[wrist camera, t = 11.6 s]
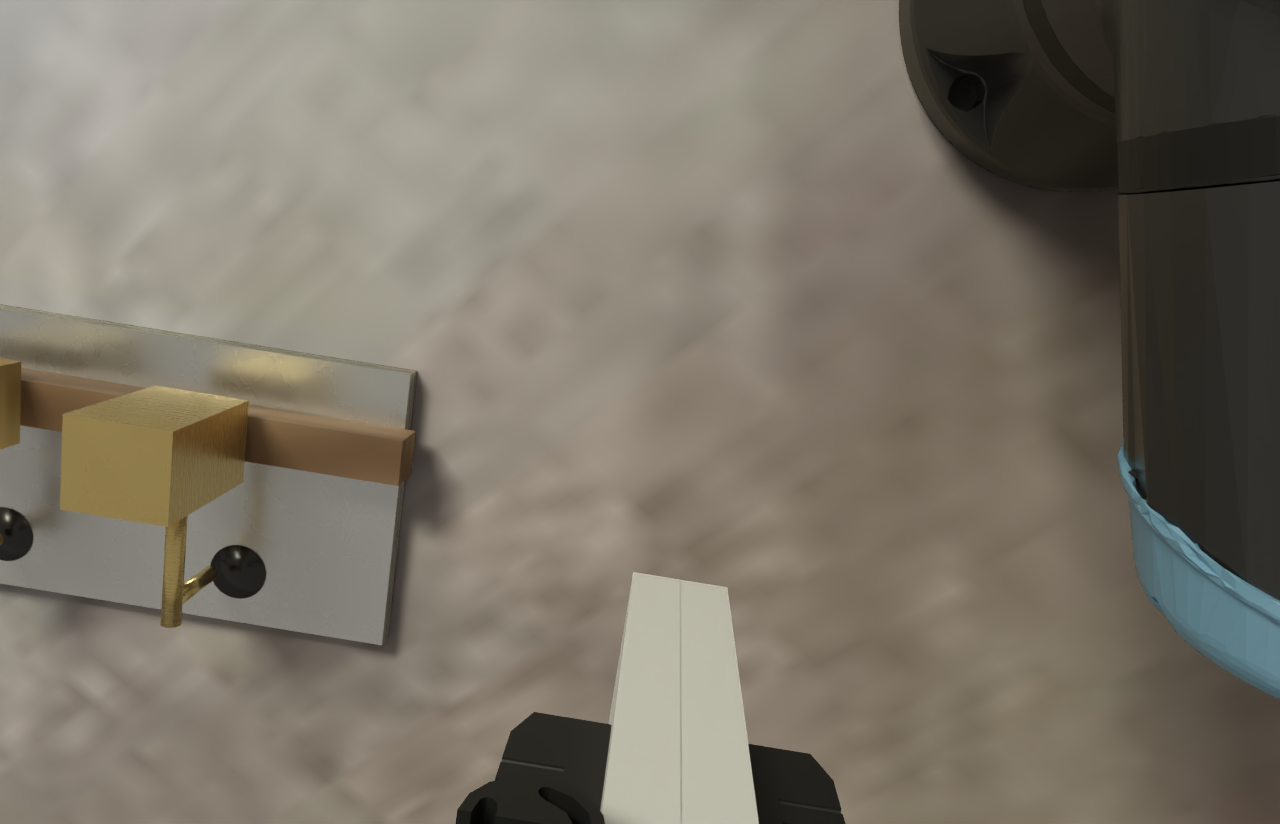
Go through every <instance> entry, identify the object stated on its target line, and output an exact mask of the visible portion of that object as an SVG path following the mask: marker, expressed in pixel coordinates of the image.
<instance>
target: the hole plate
mask: <svg viewBox="0 0 1280 824" xmlns="http://www.w3.org/2000/svg"><path fill="white" fill-rule="evenodd" d="M0 358H2V359H8V360H14V361H21V368H26V369H32V370H38V371H45V372H51V373H57V374H63V375H70V376H76V377H82V378H88V379H95V380H101V381H107V382H113V383H120V384H126V385H132V386H138V387H145V388H149V387H152V386H162V387H168V388H174V389H180V390H187V391H193V392H199V393H205V394H212V395H218V396H224V397H230V398H236V399H243V400H249V404H251V405H257V406H263V407H269V408H276V409H282V410H288V411H294V412H301V413H307V414H313V415H319V416H325V417H332V418H338V419H344V420H350V421H357V422H363V423H369V424H375V425H382V426H388V427H394V428H400V429H407V430H411V420H412V411H413V401H414V392H415V383H416V373H417V371H414V370H408V369H402V368H395V367H389V366H383V365H377V364H370V363H364V362H358V361H351V360H345V359H339V358H333V357H326V356H320V355H314V354H308V353H301V352H295V351H289V350H283V349H276V348H270V347H264V346H258V345H251V344H245V343H239V342H233V341H226V340H220V339H214V338H207V337H201V336H195V335H189V334H182V333H176V332H170V331H164V330H157V329H151V328H145V327H139V326H132V325H126V324H120V323H114V322H107V321H101V320H95V319H88V318H82V317H76V316H70V315H63V314H57V313H51V312H45V311H38V310H32V309H26V308H20V307H13V306H7V305H1V304H0ZM61 457H62V432H59V431H53V430H46V429H40V428H34V427H28V426H21V425H20V443H19V444H16V445H13V446H10V447H7V448H4V449H1V450H0V533H1V534H2V536H3V539H4V540H3V543H2V544H1V545H0V583H1V584H7V585H13V586H19V587H25V588H31V589H38V590H44V591H50V592H56V593H62V594H68V595H74V596H81V597H87V598H93V599H99V600H105V601H111V602H118V603H124V604H130V605H136V606H142V607H148V608H154V609H161V604H162V585H163V567H164V548H165V529H166V527H164V526H158V525H152V524H146V523H140V522H133V521H127V520H121V519H115V518H109V517H102V516H96V515H90V514H84V513H78V512H72V511H65V510H60V491H61ZM404 486H405V480H404V481H403V482H402V483H401V484H400V485H399V486H395V485H388V484H382V483H376V482H370V481H363V480H357V479H351V478H345V477H339V476H332V475H326V474H320V473H314V472H307V471H301V470H295V469H289V468H283V467H276V466H270V465H264V464H258V463H252V462H245V465H244V479H243V483H241V484H240V485H238V486H236V487H235V488H233V489H231V490H230V491H228V492H226V493H224V494H223V495H221V496H219V497H218V498H216V499H214V500H213V501H211V502H209V503H208V504H206V505H204V506H203V507H201V508H199V509H198V510H196V511H194V512H192V513H191V514H189V515H188V520H187V537H186V554H185V571H184V582H186V581H187V580H189V579H190V578H191V577H193V576H194V575H195V574H197V573H198V572H200V571H201V570H202V569H204V568H205V567H207V566H213V567H215V568H216V569H217V571H218V577H217V578H216V579H215V580H214V581H212V582H211V583H210V584H208V585H207V586H206V587H204V588H203V589H202V590H201V591H199V592H198V593H197V594H195V595H194V596H193V597H191V598H190V599H189V600H188V601H186V602H185V603H184V604H183V605H182V613H185V614H191V615H198V616H204V617H210V618H216V619H222V620H228V621H235V622H241V623H247V624H253V625H259V626H265V627H271V628H278V629H284V630H290V631H296V632H302V633H308V634H315V635H321V636H327V637H333V638H339V639H345V640H351V641H358V642H364V643H370V644H376V645H383V643H384V642H385V640H386V639H387V637H388V635H389V626H390V616H391V607H392V598H393V588H394V579H395V570H396V560H397V551H398V542H399V532H400V523H401V514H402V504H403V495H404Z"/></svg>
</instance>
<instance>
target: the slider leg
mask: <svg viewBox="0 0 1280 824" xmlns="http://www.w3.org/2000/svg"><path fill="white" fill-rule="evenodd" d="M248 408H249V400H243V399H236V398H230V397H224V396H218V395H212V394H205V393H199V392H193V391H187V390H180V389H174V388H168V387H162V386H152V387H149V388H145V389H142V390H139V391H136V392H132V393H129V394H126V395H123V396H120V397H116V398H113V399H110V400H107V401H103V402H100V403H97V404H94V405H90V406H87V407H84V408H81V409H77V410H74V411H71V412H68V413H64V414H63V423H62V457H61V491H60V510H65V511H72V512H78V513H84V514H90V515H96V516H102V517H109V518H115V519H121V520H127V521H133V522H140V523H146V524H152V525H158V526H164V527H166V529H165V548H164V567H163V585H162V604H161V623H160V625H161V626H163V627H166V628H173V627H177V626H180V625H181V623H182V605H183V604H184V603H185V602H186V601H188V600H189V599H190V598H191V597H193V596H194V595H195V594H197V593H198V592H199V591H201V590H202V589H203V588H204V587H206V586H207V585H208V584H210V583H211V582H212V581H214V580H215V579H216V578H217V577H218V571H217V569H216V568H215V567H213V566H207V567H205V568H204V569H202V570H201V571H200V572H198V573H197V574H195V575H194V576H193V577H191V578H190V579H189V580H187V581H186V582H184V571H185V554H186V537H187V520H188V515H189V514H191V513H192V512H194V511H196V510H198V509H199V508H201V507H203V506H204V505H206V504H208V503H209V502H211V501H213V500H214V499H216V498H218V497H219V496H221V495H223V494H224V493H226V492H228V491H230V490H231V489H233V488H235V487H236V486H238V485H240V484H241V483H243V479H244V465H245V451H246V437H247V422H248Z"/></svg>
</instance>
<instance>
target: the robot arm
mask: <svg viewBox="0 0 1280 824" xmlns="http://www.w3.org/2000/svg"><path fill="white" fill-rule="evenodd" d="M899 26H900V36H901V44H902V49H903V54H904V59H905V63H906V66H907V70H908V73H909V76H910V79H911V81H912V84H913V86H914V89H915V91H916V93H917V95H918V98H919V99H920V101H921V103H922V105H923V107H924V109H925V110H926V112H927V113H928V115H929V116H930V118H931V119H932V121H933V122H934V124H935V125H936V126H937V127H938V129H939V130H940V131H941V133H942V134H943V135H944V136H945V137H946V138H947V139H948V140H949V141H950V142H951V143H952V144H953V145H954V146H955V147H956V148H957V149H958V150H959V151H960V152H962V153H963V154H964V155H965V156H967V157H968V158H969V159H971V160H972V161H974V162H975V163H976V164H978V165H979V166H981V167H983V168H984V169H986V170H988V171H990V172H992V173H994V174H996V175H998V176H1000V177H1002V178H1004V179H1007V180H1010V181H1012V182H1015V183H1018V184H1022V185H1025V186H1029V187H1033V188H1039V189H1044V190H1052V191H1069V192H1072V191H1091V190H1102V189H1112V188H1119V194H1118V223H1119V251H1120V291H1121V340H1122V389H1123V442H1122V446H1121V448H1120V451H1119V453H1118V466H1119V474H1120V477H1121V480H1122V483H1123V486H1124V489H1125V490H1126V492H1127V494H1128V495H1129V505H1130V517H1131V528H1132V540H1133V551H1134V560H1135V566H1136V570H1137V573H1138V576H1139V579H1140V582H1141V585H1142V587H1143V589H1144V591H1145V593H1146V595H1147V596H1148V598H1149V600H1150V601H1151V602H1152V603H1153V605H1154V606H1155V607H1156V608H1157V609H1158V610H1159V611H1160V612H1161V613H1162V614H1163V615H1164V616H1165V617H1167V619H1168V621H1169V622H1170V623H1171V624H1172V626H1173V628H1174V629H1175V631H1176V632H1177V633H1178V634H1179V635H1180V636H1181V637H1182V638H1183V639H1184V640H1185V641H1186V642H1187V643H1188V644H1190V645H1191V646H1192V647H1193V648H1195V649H1196V650H1197V651H1198V652H1200V653H1201V654H1203V655H1204V656H1205V657H1207V658H1208V659H1209V660H1211V661H1212V662H1214V663H1215V664H1217V665H1218V666H1220V667H1221V668H1223V669H1224V670H1226V671H1227V672H1229V673H1231V674H1232V675H1234V676H1236V677H1237V678H1239V679H1241V680H1242V681H1244V682H1246V683H1248V684H1250V685H1252V686H1253V687H1255V688H1257V689H1259V690H1261V691H1263V692H1265V693H1267V694H1269V695H1271V696H1273V697H1275V698H1277V699H1280V0H899ZM456 824H845V821H844V817H843V814H841V807H840V803H839V799H838V796H837V792H836V789H835V785H834V781H833V780H832V779H831V777H830V776H829V775H828V774H827V773H826V772H825V771H824V769H823V768H822V767H821V766H820V765H819V764H818V762H817V761H816V760H815V759H814V758H813V757H812V755H811V754H807V753H801V752H795V751H789V750H782V749H776V748H770V747H764V746H758V745H752V744H748V739H747V731H746V724H745V716H744V709H743V701H742V694H741V686H740V679H739V671H738V664H737V657H736V649H735V642H734V634H733V627H732V619H731V612H730V604H729V597H728V589H727V587H722V586H716V585H709V584H703V583H697V582H691V581H685V580H678V579H672V578H666V577H660V576H654V575H647V574H641V573H635V572H633V577H632V583H631V589H630V595H629V601H628V608H627V614H626V620H625V626H624V632H623V638H622V645H621V651H620V657H619V663H618V669H617V675H616V682H615V688H614V694H613V700H612V706H611V712H610V719H609V724H604V723H598V722H592V721H586V720H580V719H573V718H567V717H561V716H555V715H549V714H543V713H537V712H534V713H533V714H531V715H530V716H529V717H528V718H527V719H525V720H524V721H523V722H522V723H520V724H519V725H518V726H517V727H516V728H514V729H513V730H512V731H511V733H510V736H509V739H508V742H507V745H506V748H505V751H504V754H503V757H502V762H501V763H500V766H499V769H498V772H497V775H496V778H495V781H492V782H489V783H487V784H485V785H483V786H482V787H480V788H478V789H476V790H475V791H473V792H471V793H469V795H468V796H467V797H466V799H465V800H464V802H463V803H462V804H461V806H460V807H459V808H458V810H457V818H456Z"/></svg>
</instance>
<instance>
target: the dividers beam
mask: <svg viewBox="0 0 1280 824" xmlns="http://www.w3.org/2000/svg"><path fill="white" fill-rule="evenodd" d="M142 389H145V387H138V386H132V385H126V384H120V383H113V382H107V381H101V380H95V379H88V378H82V377H76V376H70V375H63V374H57V373H51V372H45V371H38V370H32V369H26V368H21V361H14V360H8V359H2V358H0V450H1V449H4V448H7V447H10V446H13V445H16V444H19V443H20V425H21V426H28V427H34V428H40V429H46V430H53V431H59V432H62V423H63V414H64V413H68V412H71V411H74V410H77V409H81V408H84V407H87V406H90V405H94V404H97V403H100V402H103V401H107V400H110V399H113V398H116V397H120V396H123V395H126V394H129V393H132V392H136V391H139V390H142ZM415 434H416V431H413V430H407V429H400V428H394V427H388V426H382V425H375V424H369V423H363V422H357V421H350V420H344V419H338V418H332V417H325V416H319V415H313V414H307V413H301V412H294V411H288V410H282V409H276V408H269V407H263V406H257V405H251V404H249V408H248V422H247V437H246V451H245V462H252V463H258V464H264V465H270V466H276V467H283V468H289V469H295V470H301V471H307V472H314V473H320V474H326V475H332V476H339V477H345V478H351V479H357V480H363V481H370V482H376V483H382V484H388V485H395V486H399V485H400V484H401V483H402V482H403V481H404V480H405V479H406V478H407V477H408V476H409V475H410V474H411V471H412V461H413V452H414V443H415ZM3 540H4V539H3V536H2V534H1V533H0V545H1V544H2V543H3Z"/></svg>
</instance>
